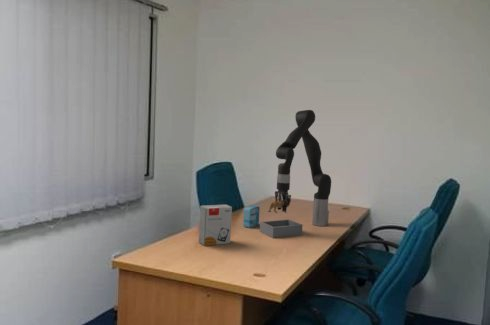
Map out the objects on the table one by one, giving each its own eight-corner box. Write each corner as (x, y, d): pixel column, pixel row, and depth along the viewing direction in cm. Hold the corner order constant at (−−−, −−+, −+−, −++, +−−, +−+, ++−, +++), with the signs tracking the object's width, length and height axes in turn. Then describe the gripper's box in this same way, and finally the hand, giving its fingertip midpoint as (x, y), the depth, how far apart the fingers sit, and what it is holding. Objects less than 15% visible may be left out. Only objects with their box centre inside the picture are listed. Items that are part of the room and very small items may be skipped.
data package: (249, 228, 280) (250, 209, 279) (242, 227, 283) (243, 208, 281) (258, 224, 291) (259, 206, 289) (252, 223, 293) (253, 205, 292)
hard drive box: (203, 246, 240) (205, 208, 238) (198, 242, 247) (199, 205, 244) (230, 243, 247) (232, 206, 245) (224, 239, 254) (226, 203, 252)
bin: (288, 228, 284) (288, 219, 283) (302, 234, 271) (302, 224, 271) (259, 231, 274) (260, 221, 273) (272, 238, 261) (273, 227, 260)
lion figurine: (287, 210, 276) (288, 195, 275) (292, 212, 271) (293, 197, 271) (266, 212, 269) (266, 196, 269) (270, 213, 265) (271, 198, 264)
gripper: (295, 183, 265) (294, 212, 267) (282, 179, 277) (280, 207, 279) (285, 183, 261) (283, 213, 263) (271, 179, 273) (269, 208, 275)
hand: (281, 210), depth 271 cm, fingers closed on lion figurine, 4 cm apart
